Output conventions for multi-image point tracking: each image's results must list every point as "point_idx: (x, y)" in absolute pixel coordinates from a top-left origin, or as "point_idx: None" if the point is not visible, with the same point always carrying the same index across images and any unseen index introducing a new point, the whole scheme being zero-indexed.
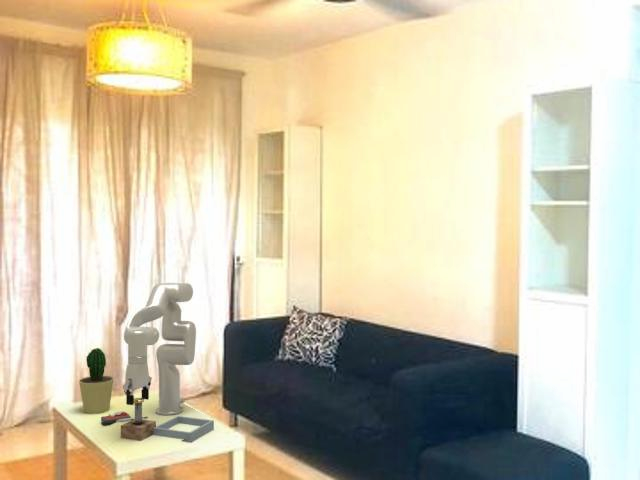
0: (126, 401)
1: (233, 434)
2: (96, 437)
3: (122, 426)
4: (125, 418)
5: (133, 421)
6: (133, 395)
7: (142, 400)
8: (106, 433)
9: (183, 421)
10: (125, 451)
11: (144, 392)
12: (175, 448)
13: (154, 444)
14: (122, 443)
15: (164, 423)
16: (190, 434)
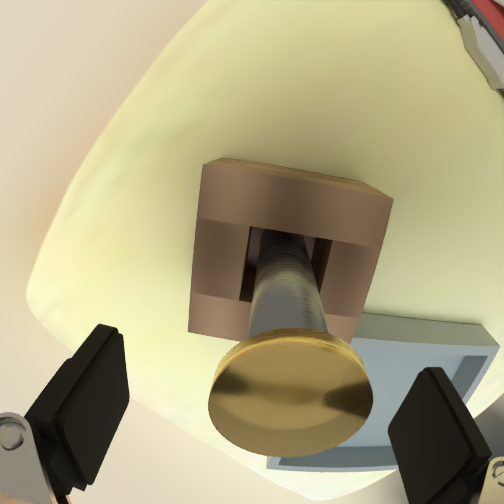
0: (83, 343)
1: (358, 487)
2: (233, 4)
3: (201, 182)
4: (502, 57)
5: (322, 212)
6: (80, 486)
7: (269, 450)
8: (313, 19)
9: (469, 364)
10: (94, 269)
11: (428, 464)
12: (196, 421)
13: (210, 349)
14: (176, 196)
15: (396, 350)
16: (267, 464)
